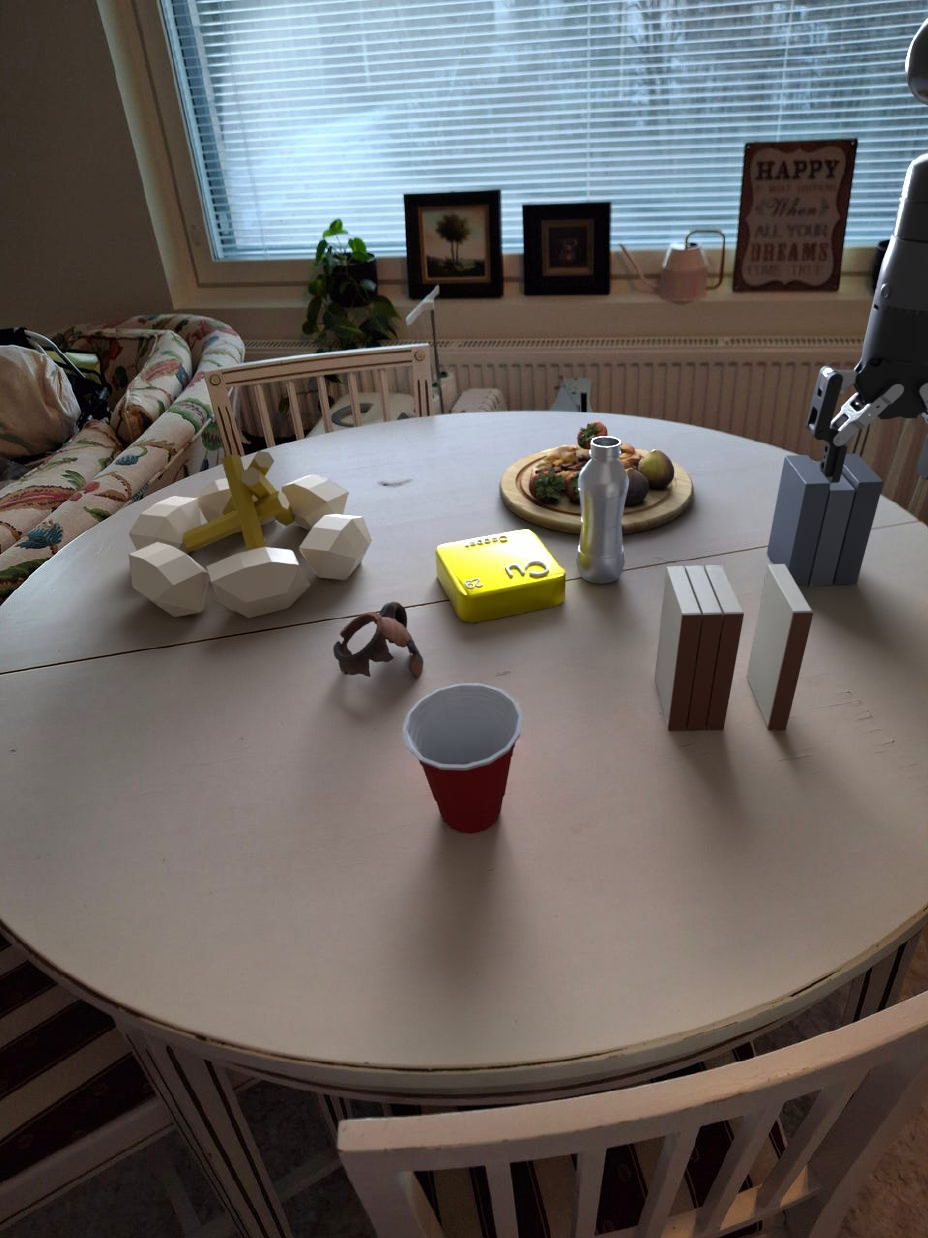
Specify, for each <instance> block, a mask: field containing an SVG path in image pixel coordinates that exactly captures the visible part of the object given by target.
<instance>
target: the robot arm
mask: <svg viewBox="0 0 928 1238" xmlns="http://www.w3.org/2000/svg"><path fill="white" fill-rule="evenodd" d="M918 28H919V29H918V30H917V31H916V33H915V35H914V37H913V39H912V41H911V43H910V45H909V48H908V52H907V56H906V59H905V66H904V67H905V69H904V71H905V72H904V73H905V74H904V75H905V80H906V83H907V86H908V87H907V88H908V89H909V91H910V93H911V94H912V95H913V97H914V98H915V99H916V100H917V101H918V102H919V103H921V104H923V105H925V106H928V17H927V18H926V19H925V20H924V21H923V22H922V24H921V26H920V27H918ZM897 205H898V206H897V210H896V214H895V219H894V223H893V227H892V233H891V235H890V239H889V243H888V245H887V248H886V252H885V254H884V256H883V259H882V262H881V265H880V269H879V274H878V279H877V282H876V287H875V292H874V296H873V300H872V305H871V309H870V313H869V318H868V322H867V327H866V332H865V335H864V340H863V344H862V352H861V358H860V360H859V361H858V363H857V365H856V366H855V367H854V369H837V368H834V367H833V366H832V365H830V364H829V365H828V364H827V365H824V366H823V367H821V368H820V370H819V372H818V375H817V380H816V384H815V388H814V391H813V394H812V395H813V396H812V399H811V403H810V407H809V410H808V414H807V418H806V422H805V428H806V429H807V431H808V432H810V433H811V435H812V436H813V438H814V439H815V440H817V441H824V442H823V447H822V448H823V449H822V453H821V458H820V461H821V462H820V470H821V472H822V473H823V474H824V476H825V477H826V479H827V480H828V481H829V482H830V483H839V481H840V478H841V473H842V469H843V465H844V460H845V456H846V454H847V452H848V445H847V444H846V443H847V442H848V441H850V439H851V438H852V437H853V436H854V435H855V434H857V432H858V431H859V430H862V429H865V428H867V427H868V426H869V425H870V424H871V423H872V422H873V421H874V420H875V419H876V418H878V419H880V420H891V419H895V418H904V419H918V416H922V417H923V418H924V420H925V423H926V424H927V425H928V150H926V151H923V152H922V153H919V155H917V156H916V157H914V158H913V160H912V161H911V162H910V165H909V167H908V169H907V171H906V174H905V177H904V180H903V184H902V187H901V193H900V197H899V201H898V204H897ZM849 386H853V387H854V389H855V390H856V392H855V393H854V394H853V395H852V396H851V397H850V398H849V399H848V400H847V401H846V402H845V403H844V404H843V405H842V406H841V410H840V412H839V413H838V414H837V415H836V416H835V417H834V414H835V411H836V407H837V403H838V401H839V397H840V396H842V395H844V394H845V393H846V391H847V389H848V387H849ZM924 439H925V440H924V443H923V447H922V450H921V453H920V457H919V460H918V464H917V467H916V472H917V474H918V475H919V476H920V477H921V478H922V479H923V480H924V481H928V433H927V434H926V437H925V438H924Z"/></svg>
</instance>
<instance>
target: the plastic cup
mask: <svg viewBox="0 0 928 1238" xmlns="http://www.w3.org/2000/svg"><path fill="white" fill-rule="evenodd" d="M521 710H522V709H521V708H520V706H519V704H518V702H517V700H516V699H515V698H513V696H511V695H510V694H508V693H507V692H506V691H505V690H503V689H502V688H498V687H496V686H492V685H489V684H485V683H483V682H481V683H479V682H478V683H476V682H471V683H469V682H467V683H466V682H464V683H462V682H459V683H455V684H452V685H451V684H450V685H447V686H443V687H440V688H436V689H435V690H433V691H432V692H430V693H428V694H426V695H425V696H423V697H421V698H420V699H419V700H418V701H417V702H416V703H415V704H414V705H413V706H412V708H411V709H409V711H408V712H407V713H406V715H405V719H404V722H403V726H402V728H401V732H402V735H403V736H402V737H403V740H404V743H405V747H406V748H407V750H408V751H410V753H411V754H412V755H413V756H414V757H415V758H416V759H417V760H418V762H419V764H420V766H421V767H422V769H423V772H424V774H425V777H426V780H427V784H428V786H429V788H430V791H431V794H432V797H433V799H434V801H435V802H436V805H437V808H438V811H439V814H440V817H441V819H442V820H443V822H444V823H445V825H446V826H447V827H448V828H449V829H450V830H453V831H455V832H457V833H460V834H465V835H467V834H468V835H474V834H478V833H483V832H485V831H487V830H489V829H490V828H492V827H494V825H495V823H496V822H497V820H498V819H499V818H500V815H501V811H502V806H503V800H504V797H505V795H506V790H507V785H508V779H509V773H510V767H511V762H512V757H513V755H514V750H515V747H516V742H517V741H518V740H519V738H520V736H521V732H522V724H523V718H524V715H523V712H522V711H521Z"/></svg>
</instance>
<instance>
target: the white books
mask: <svg viewBox="0 0 928 1238" xmlns="http://www.w3.org/2000/svg"><path fill="white" fill-rule="evenodd" d="M663 585H664V586H663V595H662V602H661V603H662V604H661V614H660V615H661V616H660V623H659V634H658V641H657V651H656V660H655V671H654V679H655V683H656V688H657V692H658V695H659V699H660V703H661V707H662V710H663V711H662V712H663V715H664V719H665V722H666V726H667V727H666V728H667V731H668V732H685V731H688V732H698V731H699V732H700V731H701V732H702V731H724V730H725V724H726V719H727V713H728V707H729V702H730V696H731V690H732V685H733V679H734V673H735V668H736V662H737V657H738V650H739V647H740V646H739V645H740V639H741V635H742V628H743V622H744V617H745V613H744V611H743V609H742V607H741V605H740V602H739V600H738V599H737V596H736V593H735V591H734V589H733V587H732V585H731V583H730V580H729V578H728V576H727V573H726V571H725V569H724V567H723V565H722V564H717V565H716V564H711V565H710V564H707V565H704V566H703V565H685V567H684V566H683V565H679V566H678V565H673V566H671V565H669V566H666V568H665V577H664V584H663Z"/></svg>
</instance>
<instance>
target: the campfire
mask: <svg viewBox="0 0 928 1238" xmlns="http://www.w3.org/2000/svg"><path fill="white" fill-rule="evenodd" d="M274 463H275V459H274V458H273V456H272V455H271V454H270V452H268V451H262V450H258V451H257V452H256V454H255V455H254V457H253V458H252V460H251V462H250V463H249V465H248V467H247V468H246V469H245V468H244V464H243V461H242V458H241V455H240V454H230V455H227V456H224V457H222V458H221V464H222V467H223V470H224V474H225V477H223V478H219V479H218V478H217V479H215V480H213V481H212V482H211V483H210V484H209V485H208V486H207V487H205V488H204V489H203V490H202V491H201V492H200V493H199V494H197V496H196V497H187V496H178V495H173V496H170V497H168V498H164V499H162V500H159V501H157V502H155V503H153V504H152V505H150V506H149V507H148V508H147V509H145V510H143V511H142V512H141V513H139V515H138V517H137V518H136V521H135V522H134V524H133V526H131V527H132V528H131V529H130V530H129V532H128V536H129V538H130V540H131V541H132V542H131V543H132V545H133V546H134V548H135V551H134V552H131V553H128V560H129V569H130V577H131V578H130V579H131V585H132V588H133V589H134V590H135V591H137V592H138V593H140V594H141V595H142V596H143V597H145V598H146V599H147V600H148V601H150V602H152V603H153V604H154V605H155V606H157V607H158V608H160V609H161V610H163V611H165V612H166V613H168V614H169V615H170V616H172V617H174V618H178V617H183V616H189V615H195V614H198V613H203V609H204V605H205V600H206V597H207V596H206V595H207V591H208V586H209V582H211V585H212V588H213V590H214V593H215V596H216V598H217V601H218V603H219V604H220V605H222V606H224V607H227V608H228V609H229V610H232V611H234V612H236V613H238V614H240V615H242V616H244V617H246V618H248V619H251V618H255V617H259V616H263V615H267V614H270V613H274V612H275V613H276V612H278V611H282V610H286V609H289V608H290V607H291V606H292V605H293V604H294V603H295V602H296V601H297V600H298V599H299V598H300V597H301V596H302V595H303V593H305V591H306V590H307V589H308V588H309V587H310V586H311V584H310V582H309V579H308V577H307V575H306V574H305V572H304V570H303V568H302V566H301V564H300V562H299V561H298V558H297V557H296V554H295V553H294V551H293V550H292V549H285V548H278V547H270V546H267V544H266V539H265V536H264V534H263V530H262V526H264V525H267V524H269V523H271V522H273V521H277V522H279V523H280V524H282V525H283V526H285V527H287V526H290V524H293V523H295V524H296V525H297V526H298V527H301V528H303V529H305V530H307V531H308V533H307V535H306V537H305V538H304V539H303V541H302V542H301V544H300V545H299V546H298V548H299V552H300V554H301V555H302V557H303V558H304V559H305V561H306V562H307V564H308V565H309V566H310V568H311V569H312V570H313V571H314V573H315V575H316V576H317V577H318V578H322V579H331V580H338V581H339V580H340V581H347V580H348V579H349V578H350V576H351V575H352V574H353V573H354V571H356V569H357V568H358V567H359V565H360V564H361V563H362V561H363V559H364V557H365V555H366V553H367V551H368V550H369V548H370V545H371V543H372V541H373V540H372V537H371V535H370V532H369V529H368V526H367V524H366V520H365V518H364V516H361V515H360V516H358V515H348V514H344V512H345V508H346V504H347V501H348V497H349V494H350V491H349V490H347V489H346V488H344V487H342V486H341V485H339V484H338V483H336V481H335V482H334V481H333V480H331V479H330V478H327V477H325V476H322V475H319V474H317V473H313V474H309V475H305V476H302V477H300V478H297V479H295V480H293V481H290V482H288V483H286V484H283V485H281V486H280V487H281V491H280V490H277V489H276V488H275V487H274V485H273V484H272V483H271V482H270V481H269V480H268V478H267V477H266V475H267V474H268V472H270V469H271V467H272V466H273V464H274ZM200 512H201V513H202V515H203V517H204V519H205V520H206V523H203V524H202V519H201V513H200ZM238 533H242V536H243V540H244V544H245V547H246V550H245V551H239V552H237V553H234V554H233V555H230V556H227V557H225V558H222V559H221V560H218V561H216V562H214V563H210V564H209V565H206V568H204V567H203V566H202V565H201V564H200V563H198V562H197V561H196V560H194V558H193V557H191V556H189V555H188V554H190V553H191V552H192V551H193V552H195V551H196V550H199V549H201V548H203V547H207V546H208V545H210V544H213V543H215V542H218V541H219V540H222V539H224V538H226V537H228V536H231V535H233V534H238Z"/></svg>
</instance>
